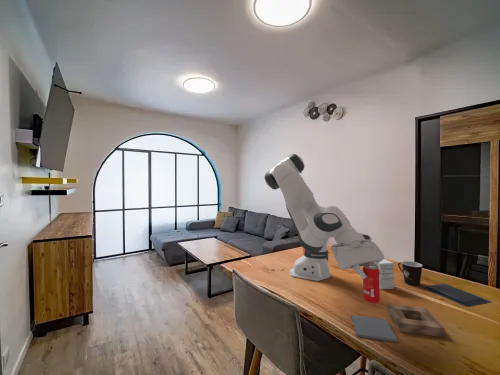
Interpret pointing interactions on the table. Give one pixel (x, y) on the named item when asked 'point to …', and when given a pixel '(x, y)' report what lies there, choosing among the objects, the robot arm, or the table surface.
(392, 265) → the supplement box
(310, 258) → the robot arm
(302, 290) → the table surface
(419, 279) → the coffee mug
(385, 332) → the coaster tile
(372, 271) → the beverage can
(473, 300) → the wallet
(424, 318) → the can holder
